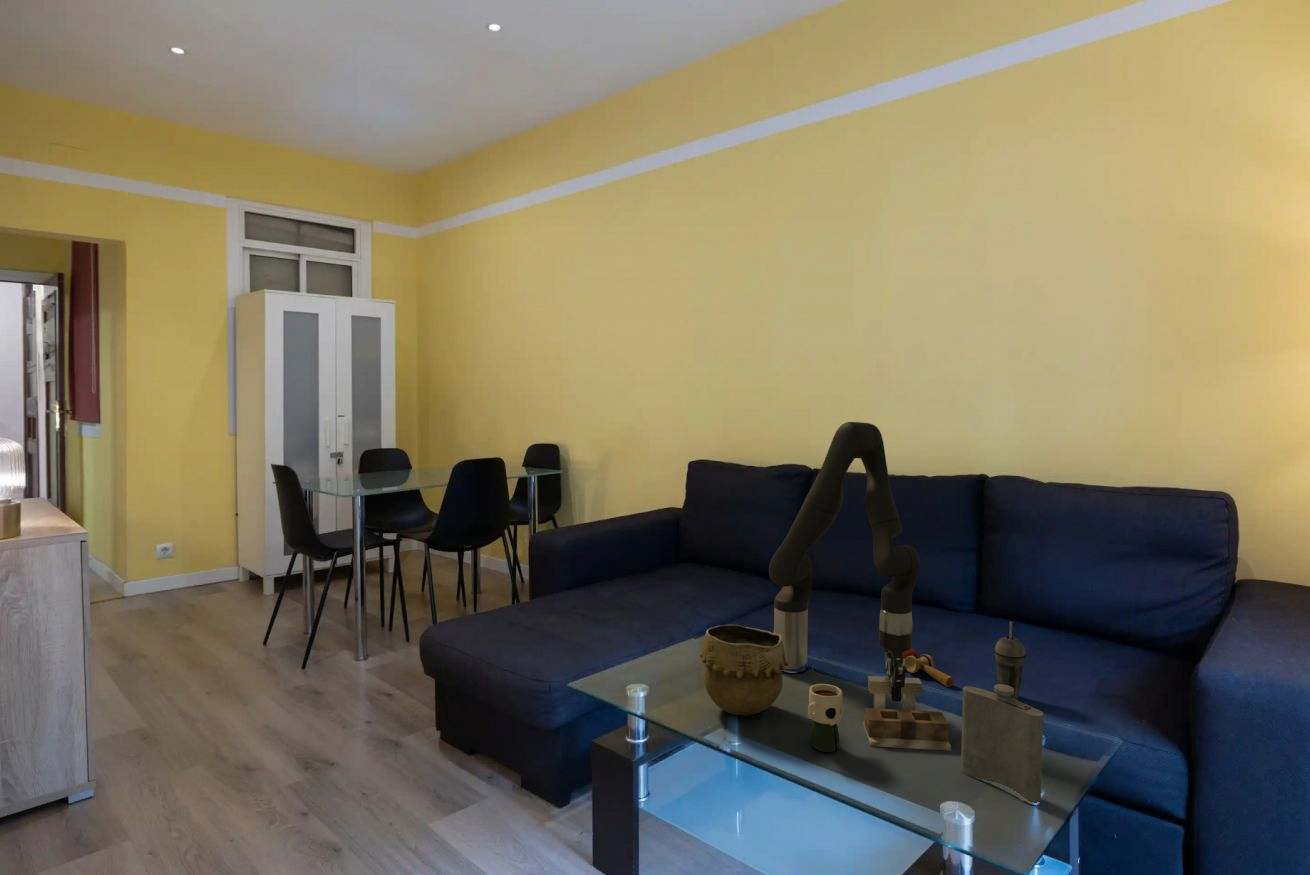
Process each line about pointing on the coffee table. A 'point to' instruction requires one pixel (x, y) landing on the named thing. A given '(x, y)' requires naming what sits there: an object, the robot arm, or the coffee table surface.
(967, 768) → the hip flask
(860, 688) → the coffee table surface
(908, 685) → the clip
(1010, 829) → the coffee table surface
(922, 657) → the kendama
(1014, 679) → the beverage cup
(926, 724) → the brown wooden block
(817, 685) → the character mug
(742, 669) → the clay pot
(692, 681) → the coffee table surface
